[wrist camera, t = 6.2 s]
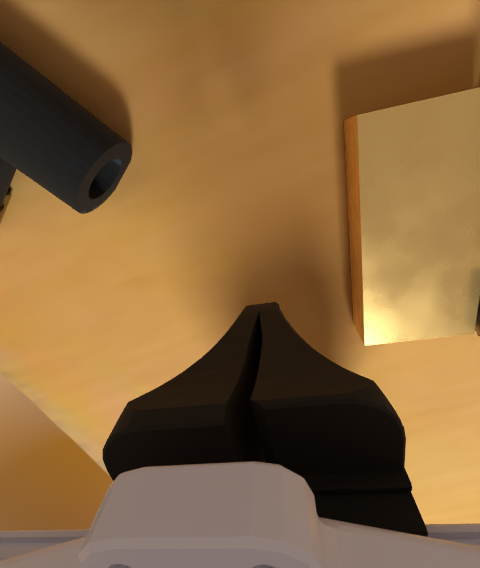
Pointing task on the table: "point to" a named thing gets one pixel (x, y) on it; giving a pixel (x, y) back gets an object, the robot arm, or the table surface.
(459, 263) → the tan flat block
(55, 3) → the table surface
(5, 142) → the pipe connector
